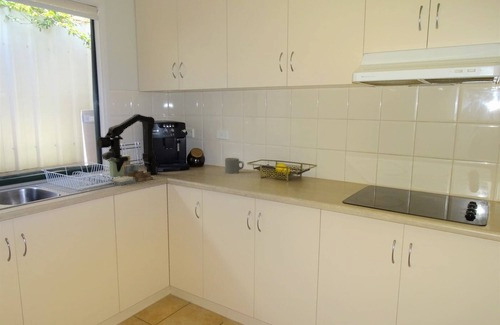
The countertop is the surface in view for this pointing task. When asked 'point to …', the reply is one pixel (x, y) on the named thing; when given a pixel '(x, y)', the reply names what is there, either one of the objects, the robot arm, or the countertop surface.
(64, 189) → the countertop surface
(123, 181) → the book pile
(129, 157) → the supplement box
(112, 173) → the sage book
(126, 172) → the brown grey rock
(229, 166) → the coffee mug
